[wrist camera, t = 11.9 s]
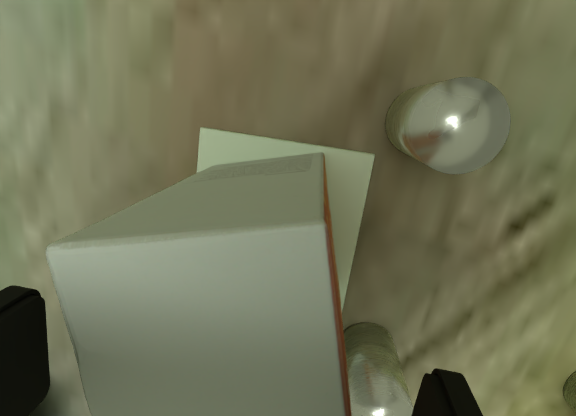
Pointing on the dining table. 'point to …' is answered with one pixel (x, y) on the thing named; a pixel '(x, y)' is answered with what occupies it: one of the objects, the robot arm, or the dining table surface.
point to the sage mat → (339, 170)
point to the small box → (211, 297)
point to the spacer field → (447, 159)
